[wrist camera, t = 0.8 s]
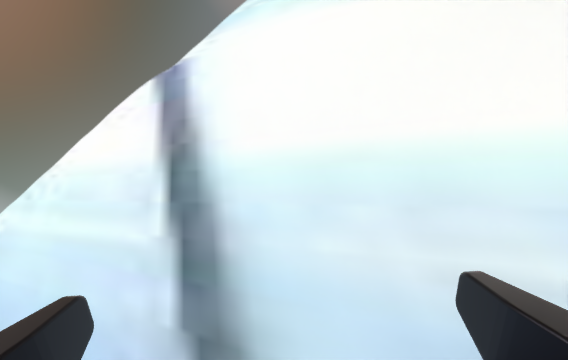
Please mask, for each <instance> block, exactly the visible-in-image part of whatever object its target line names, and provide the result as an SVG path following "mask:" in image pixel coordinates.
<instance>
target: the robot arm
mask: <svg viewBox="0 0 568 360" xmlns="http://www.w3.org/2000/svg"><path fill="white" fill-rule="evenodd" d="M456 307H457V310H458V312H459V314H460V316H461V318H462V320H463V321H464V323H465V325H466V327H467V329H468V331H469V333H470V335H471V337H472V339H473V341H474V343H475V345H476V347H477V349H478V351H479V353H480V354H481V356H482V358H483V360H568V310H566V309H564V308H561V307H559V306H557V305H555V304H552V303H550V302H548V301H546V300H544V299H541V298H539V297H537V296H535V295H532V294H530V293H528V292H526V291H524V290H521V289H519V288H517V287H515V286H512V285H510V284H508V283H506V282H504V281H501V280H499V279H497V278H495V277H492V276H490V275H488V274H486V273H484V272H481V271H468V272H463V273H461V275H460V277H459V282H458V288H457V294H456ZM93 329H94V322H93V318H92V315H91V312H90V309H89V306H88V303H87V300H86V298H85V297H84V296H80V295H78V296H65V297H62V298H60V299H58V300H57V301H55V302H53V303H51V304H49V305H48V306H46V307H44V308H42V309H40V310H38V311H37V312H35V313H33V314H31V315H29V316H28V317H26V318H24V319H22V320H20V321H19V322H17V323H15V324H13V325H11V326H9V327H8V328H6V329H4V330H2V331H0V360H81V358H82V356H83V354H84V352H85V349H86V347H87V345H88V342H89V340H90V338H91V336H92V333H93Z"/></svg>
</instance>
